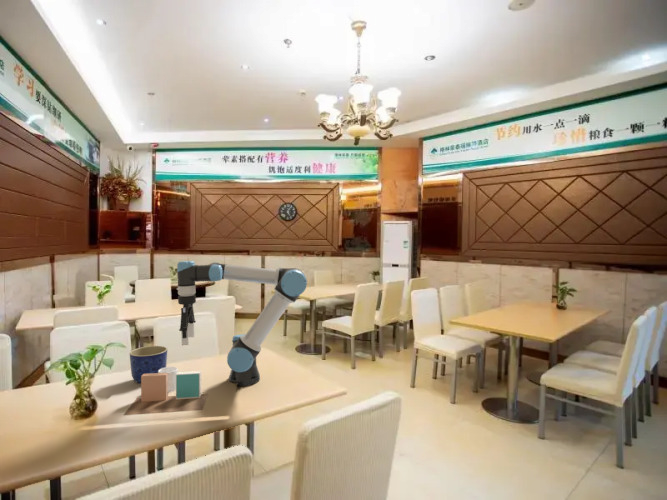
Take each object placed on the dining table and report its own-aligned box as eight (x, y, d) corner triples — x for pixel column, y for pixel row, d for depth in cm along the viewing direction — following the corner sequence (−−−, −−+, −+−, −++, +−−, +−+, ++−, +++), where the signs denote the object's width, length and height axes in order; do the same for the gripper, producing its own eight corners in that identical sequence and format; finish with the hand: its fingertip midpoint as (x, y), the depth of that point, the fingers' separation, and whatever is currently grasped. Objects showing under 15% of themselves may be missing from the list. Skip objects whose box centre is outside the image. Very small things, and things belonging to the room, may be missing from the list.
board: (208, 396, 169) (208, 393, 169) (202, 412, 154) (202, 409, 154) (137, 400, 164) (137, 398, 164) (123, 418, 148) (123, 415, 148)
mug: (150, 398, 167) (149, 375, 167) (148, 391, 174) (148, 369, 174) (178, 393, 173) (178, 370, 173) (176, 386, 180) (176, 365, 180)
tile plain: (167, 397, 165) (167, 372, 165) (166, 400, 162) (165, 375, 162) (143, 398, 164) (143, 373, 163) (141, 401, 161) (141, 376, 160)
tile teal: (200, 395, 168) (200, 370, 167) (199, 398, 165) (199, 373, 164) (177, 396, 166) (177, 372, 166) (175, 399, 163) (175, 374, 163)
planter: (170, 382, 185) (170, 352, 185) (131, 390, 176) (131, 358, 175) (164, 372, 199) (164, 344, 199) (127, 378, 190) (127, 349, 189)
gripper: (184, 291, 183) (185, 334, 183) (171, 299, 158) (173, 349, 159) (200, 290, 184) (201, 333, 185) (190, 298, 159) (191, 348, 160)
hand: (188, 341), depth 172 cm, fingers open, 13 cm apart
